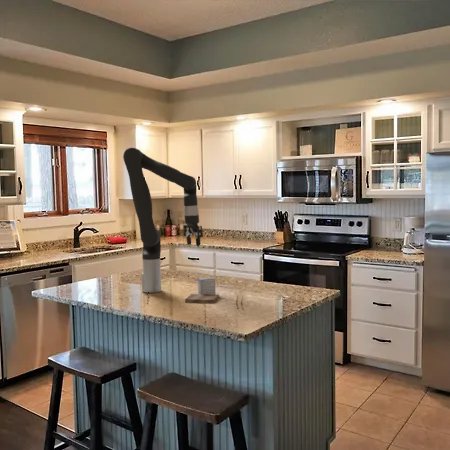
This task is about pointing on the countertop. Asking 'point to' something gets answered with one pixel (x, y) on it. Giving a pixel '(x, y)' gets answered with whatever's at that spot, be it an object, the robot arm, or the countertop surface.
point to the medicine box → (206, 286)
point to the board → (202, 298)
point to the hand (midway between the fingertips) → (193, 245)
